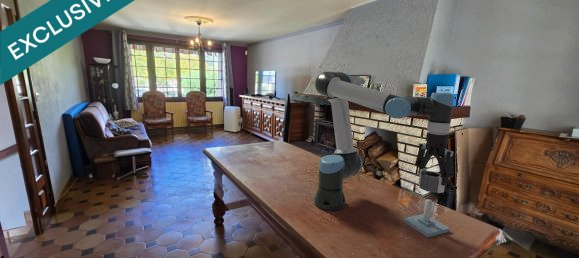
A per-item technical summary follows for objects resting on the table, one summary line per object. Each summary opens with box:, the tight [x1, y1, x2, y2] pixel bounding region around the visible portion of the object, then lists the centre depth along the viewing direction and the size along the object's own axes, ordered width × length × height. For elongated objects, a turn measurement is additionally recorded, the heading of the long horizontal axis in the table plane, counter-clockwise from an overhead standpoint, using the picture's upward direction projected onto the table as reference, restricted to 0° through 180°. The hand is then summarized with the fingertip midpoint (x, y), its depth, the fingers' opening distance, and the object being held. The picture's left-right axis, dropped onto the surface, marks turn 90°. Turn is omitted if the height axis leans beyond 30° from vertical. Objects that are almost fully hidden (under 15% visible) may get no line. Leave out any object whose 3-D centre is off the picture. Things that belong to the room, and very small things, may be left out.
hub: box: [418, 170, 441, 194], centre depth 100 cm, size 8×8×6 cm
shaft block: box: [403, 199, 451, 238], centre depth 103 cm, size 12×12×12 cm
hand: (430, 187), depth 100 cm, fingers closed on hub, 8 cm apart
